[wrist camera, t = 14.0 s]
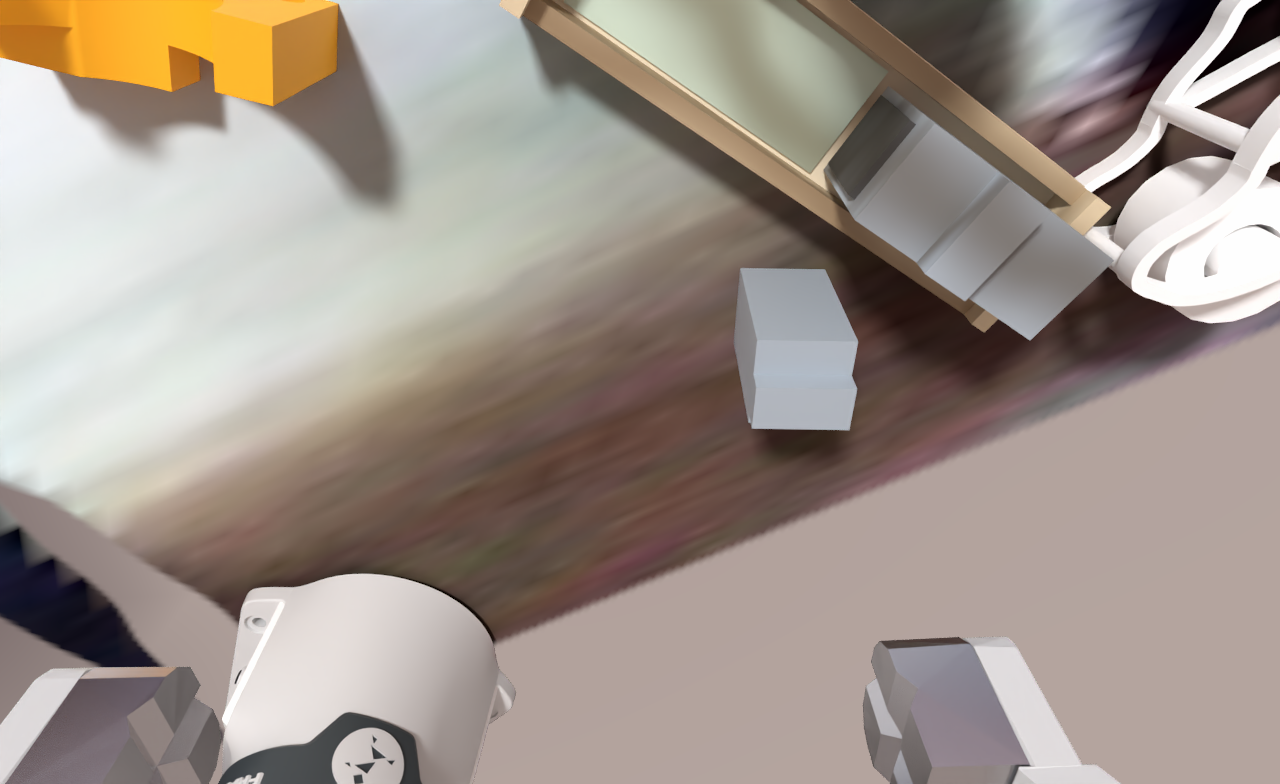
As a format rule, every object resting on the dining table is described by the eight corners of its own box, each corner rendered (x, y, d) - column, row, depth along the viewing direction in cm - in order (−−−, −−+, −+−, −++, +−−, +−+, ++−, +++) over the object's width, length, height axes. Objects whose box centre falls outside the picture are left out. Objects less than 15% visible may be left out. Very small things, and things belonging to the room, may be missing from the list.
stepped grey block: (733, 347, 39) (750, 442, 32) (740, 268, 36) (760, 352, 30) (813, 348, 39) (846, 443, 32) (824, 269, 36) (863, 354, 30)
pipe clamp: (38, 38, 31) (-90, 69, 26) (18, -82, 29) (-128, -77, 24) (336, 112, 33) (273, 155, 27) (339, 3, 31) (271, 26, 25)
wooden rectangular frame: (955, 298, 37) (1025, 390, 30) (513, -4, 30) (472, 26, 23) (1071, 177, 34) (1179, 249, 27) (605, -191, 27) (589, -222, 20)
